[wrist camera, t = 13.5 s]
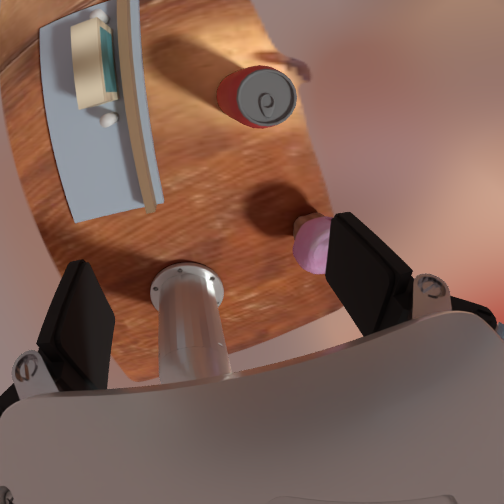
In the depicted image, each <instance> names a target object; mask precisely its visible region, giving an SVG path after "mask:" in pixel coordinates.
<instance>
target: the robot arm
mask: <svg viewBox="0 0 504 504" xmlns="http://www.w3.org/2000/svg"><path fill="white" fill-rule="evenodd" d="M412 272H413V270H412V269H411V268H410V267H409V266H408V265H407V264H406V263H405V262H404V261H403V260H402V259H401V258H400V257H399V256H398V255H397V254H396V253H395V252H394V251H393V250H391V249H390V248H389V247H388V246H387V245H386V244H385V243H384V242H383V241H382V240H381V239H380V238H379V237H378V236H377V235H376V234H374V233H373V232H372V231H371V230H370V229H369V228H368V227H367V226H365V225H364V224H363V223H362V222H361V221H360V220H359V219H358V218H357V217H355V216H354V215H353V214H352V213H351V212H345V213H338V214H336V215H335V216H334V218H332V219H331V224H330V234H329V244H328V253H327V262H326V270H325V276H326V280H327V282H328V283H329V285H330V286H331V288H332V289H333V291H334V292H335V294H336V295H337V297H338V298H339V300H340V301H341V303H342V304H343V306H344V307H345V309H346V310H347V312H348V313H349V315H350V316H351V318H352V319H353V321H354V322H355V324H356V325H357V327H358V328H359V330H360V332H361V333H362V335H363V336H364V337H361V338H359V339H356V340H353V341H350V342H347V343H344V344H341V345H338V346H335V347H331V348H328V349H325V350H322V351H318V352H315V353H311V354H308V355H305V356H301V357H297V358H293V359H290V360H286V361H282V362H278V363H274V364H270V365H266V366H262V367H257V368H253V369H248V370H244V371H239V372H234V373H232V371H231V367H230V362H229V357H228V353H227V348H226V344H225V339H224V335H223V330H222V325H221V320H220V316H219V311H218V307H219V306H220V304H221V302H222V300H223V296H224V289H223V285H222V282H221V280H220V278H219V276H218V275H217V274H216V273H215V272H214V271H213V270H211V269H210V268H208V267H206V266H204V265H201V264H197V263H178V264H174V265H171V266H169V267H167V268H165V269H163V270H162V271H161V272H159V273H158V274H157V276H156V277H155V278H154V280H153V282H152V285H151V291H150V296H151V301H152V303H153V305H154V307H155V308H156V309H157V310H158V311H159V336H158V342H159V378H160V381H161V384H160V385H151V386H142V387H132V388H118V389H107V382H108V372H109V362H110V354H111V346H112V339H113V332H114V325H115V316H114V313H113V311H112V309H111V307H110V305H109V303H108V301H107V299H106V297H105V295H104V293H103V291H102V289H101V287H100V285H99V283H98V281H97V279H96V276H95V274H94V272H93V270H92V268H91V265H90V264H89V263H88V262H85V261H84V260H83V259H82V260H77V261H73V262H70V263H69V264H68V266H67V268H66V270H65V272H64V275H63V277H62V279H61V281H60V284H59V286H58V288H57V290H56V292H55V295H54V297H53V300H52V302H51V305H50V307H49V310H48V312H47V315H46V317H45V320H44V323H43V325H42V328H41V331H40V334H39V337H38V340H37V343H36V344H37V345H38V346H39V350H38V352H36V351H34V350H29V351H26V352H24V353H23V354H21V355H20V356H19V357H18V358H17V360H16V361H15V363H14V365H13V368H12V378H13V381H14V383H13V384H12V385H11V386H10V387H9V388H8V389H7V390H6V391H5V392H4V393H3V394H2V395H1V396H0V504H504V324H502V323H500V322H499V323H498V324H497V322H496V318H495V316H494V315H493V313H492V312H491V311H490V310H489V309H488V308H487V307H484V306H482V305H479V304H475V303H472V302H469V301H466V300H463V299H459V298H456V297H453V296H450V291H449V288H448V286H447V284H446V283H445V282H444V281H443V280H442V279H440V278H439V277H437V276H434V275H431V274H420V275H418V276H416V278H415V279H414V278H413V277H412V276H411V275H412Z"/></svg>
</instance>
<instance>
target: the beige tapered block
mask: <svg viewBox="0 0 504 504" xmlns="http://www.w3.org/2000/svg"><path fill="white" fill-rule="evenodd" d="M71 48H72V62H73V72H74V81H75V89H76V96H77V103H78V109H79V110H81V109H85V108H90V107H94V106H99V105H102V104H105V103H108V102H112V101H115V100H119V99H120V98H119V91H118V83H117V75H116V66H115V56H114V44H113V29H111V28H110V27H109V26H108V25H107V24H105V23H104V22H103V21H101V20H100V19H99V18H98V17H95V18H92V19H89V20H87V21H84V22H81V23H79V24H76V25H74V26H71Z"/></svg>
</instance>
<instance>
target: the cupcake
mask: <svg viewBox="0 0 504 504" xmlns="http://www.w3.org/2000/svg"><path fill="white" fill-rule="evenodd" d="M331 219H332V217H325V216H324V215H322V214H320V213H312V214H308V215H306V216H300V217H298V218H297V219H296V221H295V222H294V230H293V236H294V240H295V242H294V246H293V254H294V257H295V259H296V260H297V262H298V264H299V265H300V266H301V267H302V268H303V269H305V270H306V271H309V272H311V273H314V274H325V270H326V262H327V253H328V244H329V234H330V224H331Z"/></svg>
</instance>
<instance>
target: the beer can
mask: <svg viewBox="0 0 504 504" xmlns="http://www.w3.org/2000/svg"><path fill="white" fill-rule="evenodd" d="M296 100H297V95H296V90H295V87H294V85H293V83H292V82H291V80H290V79H289V78H288V77H287V76H286V75H285V74H283V73H282V72H280V71H278V70H276V69H274V68H272V67H268V66H261V65H258V66H253V67H248V68H245V69H243V70H240V71H237V72H235V73H232V74H230V75H229V76H227V77H225V78H224V80H223V81H222V82H221V83H220V85H219V87H218V89H217V101H218V105H219V107H220V108H221V110H222V111H223V112H224V113H225V114H227V115H228V116H229V117H231V118H233V119H235V120H237V121H238V122H240V123H242V124H244V125H247V126H249V127H252V128H262V129H263V128H268V127H272V126H275V125H278V124H280V123H282V122H283V121H285V120H286V119H287V118H288V117H289V116H290V115H291V114H292V112H293V110H294V108H295V106H296Z"/></svg>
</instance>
